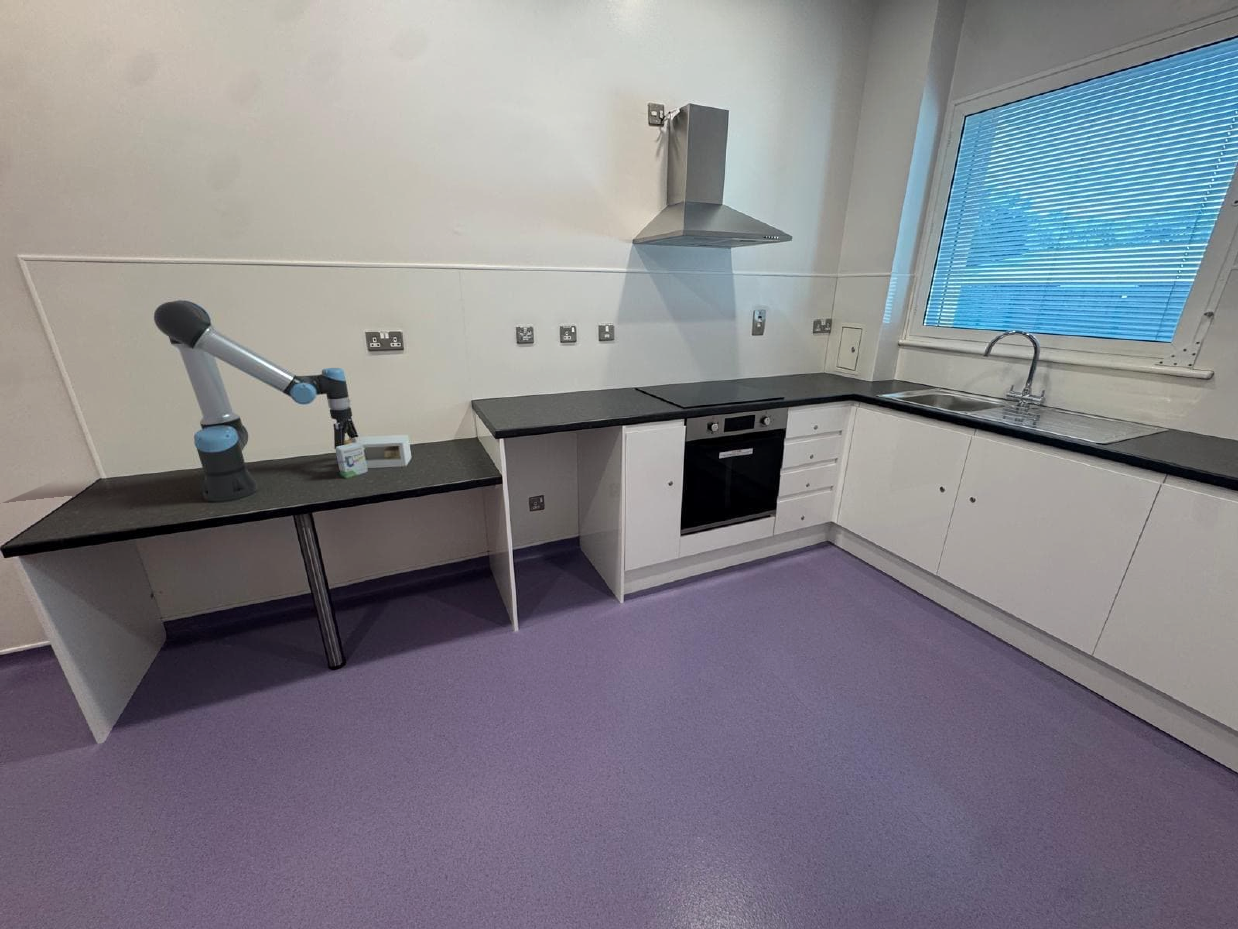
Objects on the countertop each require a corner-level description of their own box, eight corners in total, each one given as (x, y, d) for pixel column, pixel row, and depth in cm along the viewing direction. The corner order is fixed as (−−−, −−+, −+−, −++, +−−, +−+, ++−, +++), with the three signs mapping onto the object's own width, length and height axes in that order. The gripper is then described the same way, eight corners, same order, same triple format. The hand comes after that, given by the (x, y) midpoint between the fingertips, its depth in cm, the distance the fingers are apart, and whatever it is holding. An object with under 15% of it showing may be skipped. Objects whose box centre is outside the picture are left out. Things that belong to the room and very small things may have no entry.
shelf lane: (357, 468, 199) (353, 444, 195) (365, 459, 209) (361, 436, 206) (405, 466, 202) (402, 442, 199) (411, 457, 212) (408, 434, 209)
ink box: (361, 469, 198) (356, 441, 194) (368, 472, 196) (363, 444, 191) (339, 475, 192) (334, 446, 188) (346, 478, 189) (340, 449, 185)
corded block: (344, 467, 200) (339, 443, 197) (349, 462, 206) (344, 439, 202) (401, 464, 204) (398, 441, 201) (405, 459, 210) (401, 436, 206)
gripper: (339, 415, 184) (350, 468, 191) (359, 400, 207) (368, 448, 214) (317, 416, 183) (329, 469, 190) (340, 401, 206) (349, 449, 213)
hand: (349, 458), depth 202 cm, fingers open, 13 cm apart
